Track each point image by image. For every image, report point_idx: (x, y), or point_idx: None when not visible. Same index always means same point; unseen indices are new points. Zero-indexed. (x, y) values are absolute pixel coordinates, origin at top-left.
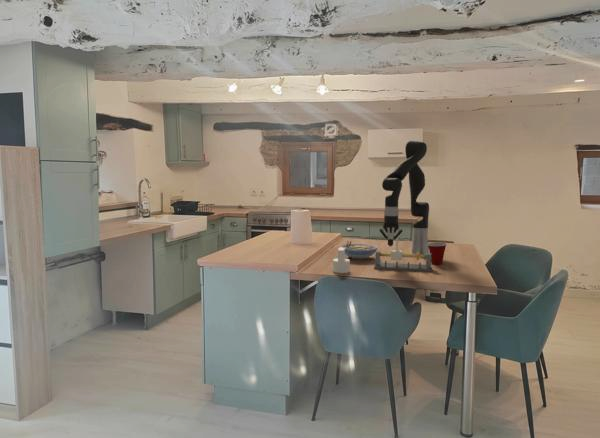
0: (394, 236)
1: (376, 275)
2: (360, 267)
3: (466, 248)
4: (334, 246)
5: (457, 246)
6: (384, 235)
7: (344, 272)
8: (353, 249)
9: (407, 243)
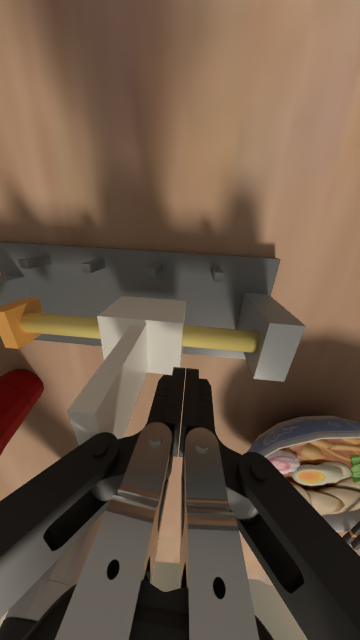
0: (113, 480)
1: (302, 36)
2: (344, 283)
3: None
4: None
5: None
6: (294, 514)
7: None
8: (355, 470)
9: None
